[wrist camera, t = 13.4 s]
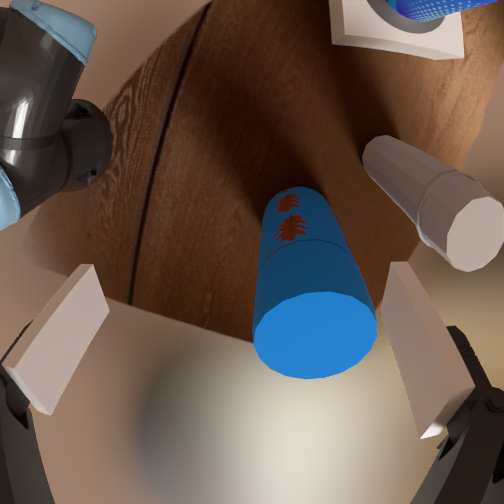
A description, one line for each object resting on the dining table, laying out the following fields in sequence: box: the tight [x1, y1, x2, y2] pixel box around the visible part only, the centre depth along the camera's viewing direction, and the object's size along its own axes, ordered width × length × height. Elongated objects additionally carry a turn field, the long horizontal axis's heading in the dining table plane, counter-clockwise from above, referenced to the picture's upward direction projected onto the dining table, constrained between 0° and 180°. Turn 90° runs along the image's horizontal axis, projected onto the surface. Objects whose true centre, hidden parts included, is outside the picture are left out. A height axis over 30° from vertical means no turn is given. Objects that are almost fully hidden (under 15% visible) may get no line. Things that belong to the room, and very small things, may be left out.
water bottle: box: [362, 135, 504, 272], centre depth 30 cm, size 9×8×25 cm
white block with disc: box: [329, 0, 464, 60], centre depth 25 cm, size 16×14×8 cm
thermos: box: [252, 187, 377, 379], centre depth 35 cm, size 11×11×25 cm
